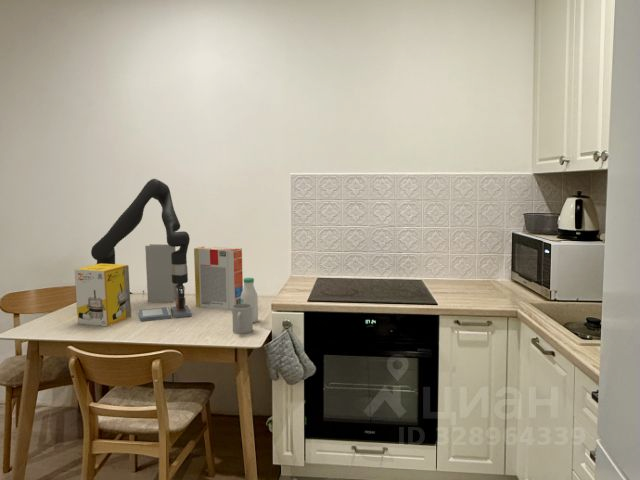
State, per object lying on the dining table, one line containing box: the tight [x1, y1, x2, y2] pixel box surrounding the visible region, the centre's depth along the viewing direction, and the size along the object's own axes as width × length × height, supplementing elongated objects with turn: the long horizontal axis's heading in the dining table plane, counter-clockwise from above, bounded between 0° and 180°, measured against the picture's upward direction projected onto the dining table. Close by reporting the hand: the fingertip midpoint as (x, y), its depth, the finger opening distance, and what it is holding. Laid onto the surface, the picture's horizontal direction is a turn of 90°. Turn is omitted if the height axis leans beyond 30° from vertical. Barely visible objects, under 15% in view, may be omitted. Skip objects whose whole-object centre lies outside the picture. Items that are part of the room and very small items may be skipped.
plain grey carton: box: [145, 244, 177, 303], centre depth 274 cm, size 14×6×30 cm, turn 84°
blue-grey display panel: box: [138, 306, 173, 322], centre depth 246 cm, size 14×16×2 cm
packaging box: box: [74, 263, 132, 327], centre depth 238 cm, size 16×16×25 cm
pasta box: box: [193, 245, 244, 311], centre depth 262 cm, size 23×8×30 cm, turn 69°
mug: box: [231, 304, 254, 335], centre depth 220 cm, size 12×8×11 cm
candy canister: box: [241, 277, 259, 323], centre depth 235 cm, size 8×8×20 cm
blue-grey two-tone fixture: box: [170, 296, 193, 319], centre depth 250 cm, size 8×16×8 cm, turn 21°
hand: (180, 307), depth 250 cm, fingers closed on blue-grey two-tone fixture, 4 cm apart
